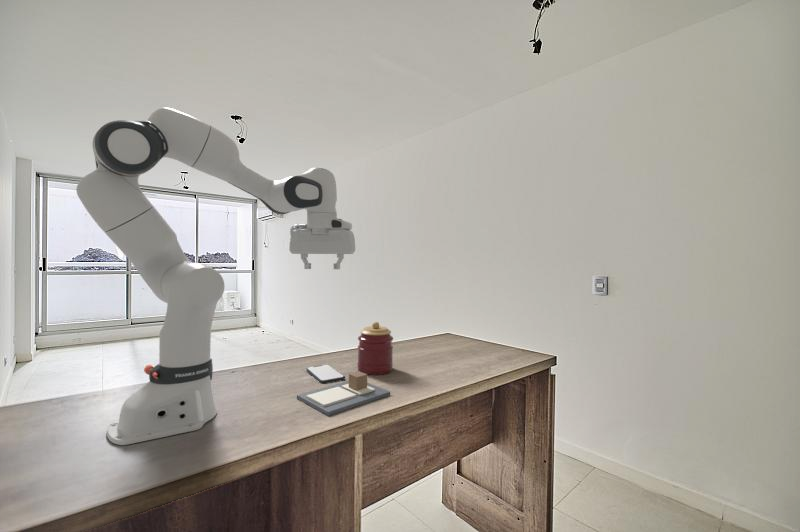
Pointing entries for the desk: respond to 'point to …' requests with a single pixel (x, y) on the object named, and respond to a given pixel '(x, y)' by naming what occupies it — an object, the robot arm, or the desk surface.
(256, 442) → the desk surface
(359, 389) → the tan cube with base
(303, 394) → the board
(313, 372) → the smartphone
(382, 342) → the canister
